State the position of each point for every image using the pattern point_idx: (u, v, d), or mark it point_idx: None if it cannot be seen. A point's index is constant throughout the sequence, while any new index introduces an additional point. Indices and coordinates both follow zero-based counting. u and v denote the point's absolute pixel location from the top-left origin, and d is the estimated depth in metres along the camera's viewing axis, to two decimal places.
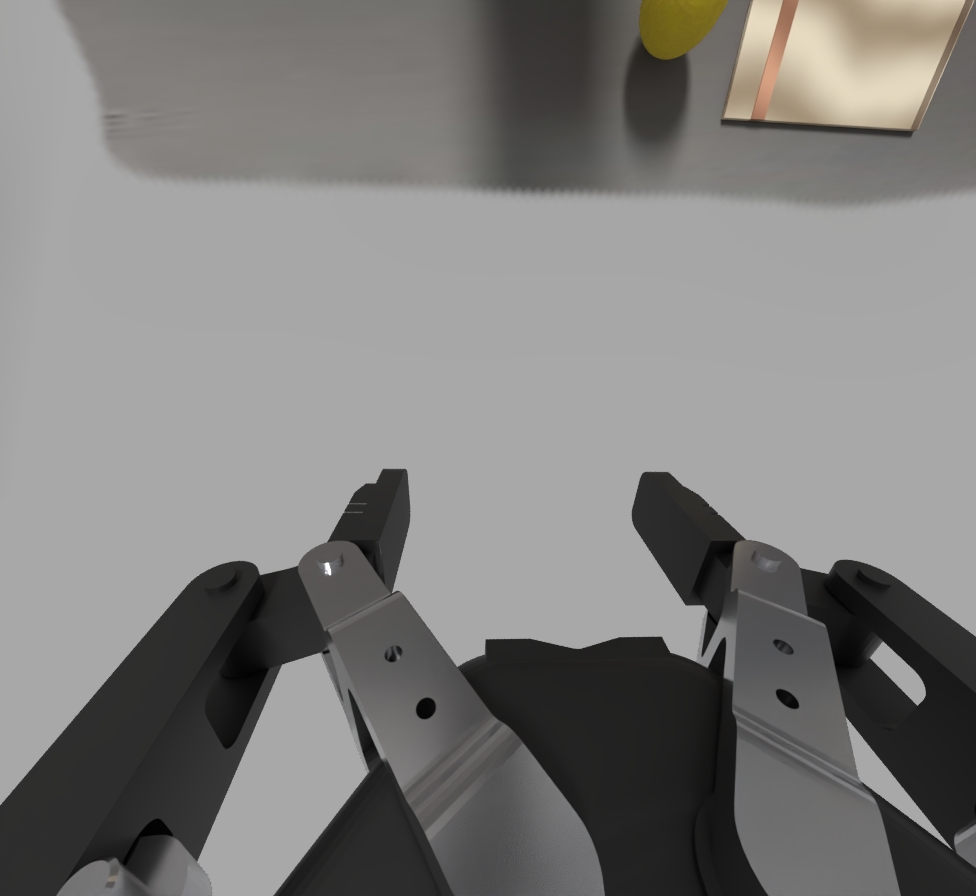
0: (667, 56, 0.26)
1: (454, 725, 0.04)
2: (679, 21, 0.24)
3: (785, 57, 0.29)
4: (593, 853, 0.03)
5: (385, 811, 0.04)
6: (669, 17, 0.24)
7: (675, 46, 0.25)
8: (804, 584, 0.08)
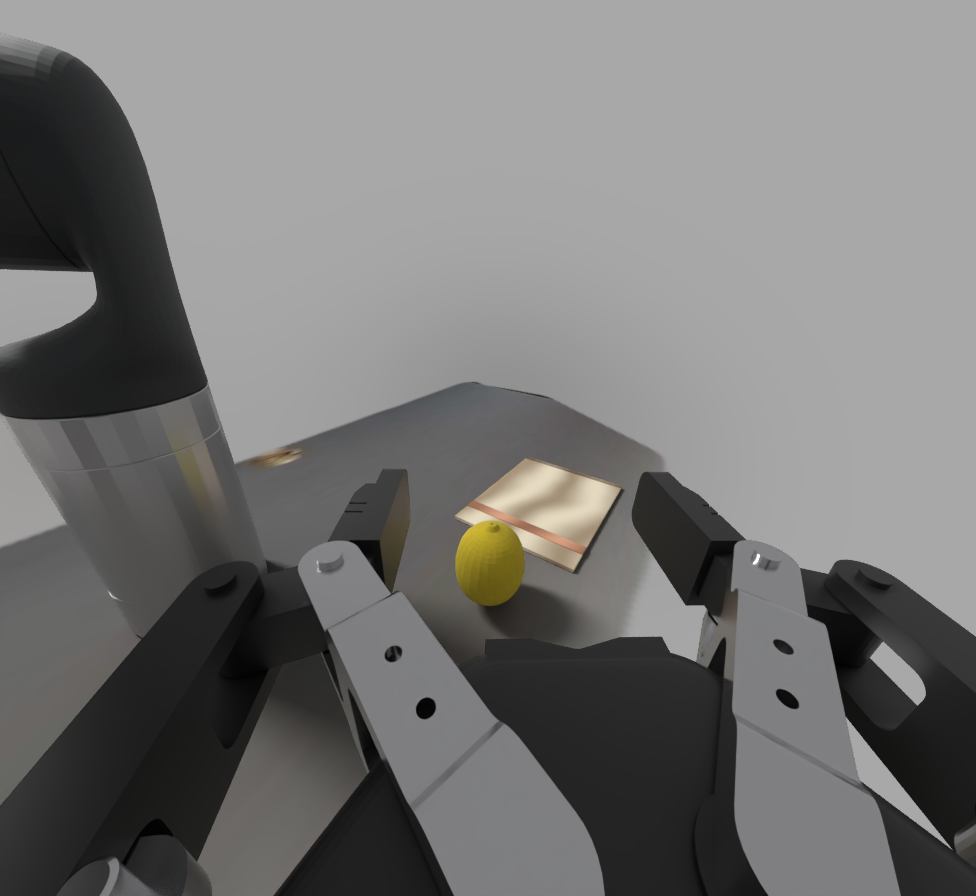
0: (518, 586, 0.27)
1: (455, 726, 0.04)
2: (509, 562, 0.26)
3: (551, 531, 0.38)
4: (594, 854, 0.03)
5: (385, 811, 0.04)
6: (502, 568, 0.25)
7: (519, 575, 0.26)
8: (804, 584, 0.08)
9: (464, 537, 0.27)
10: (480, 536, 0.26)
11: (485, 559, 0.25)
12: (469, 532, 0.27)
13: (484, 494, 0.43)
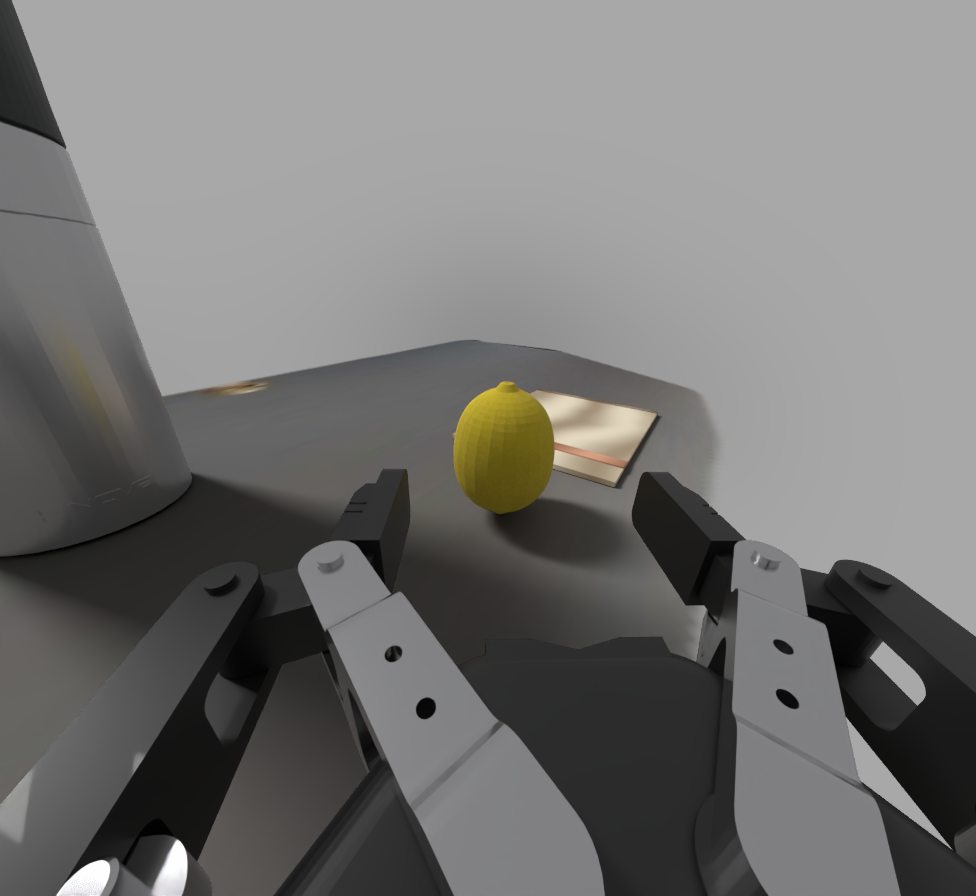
0: (546, 479, 0.18)
1: (455, 725, 0.04)
2: (535, 433, 0.17)
3: (578, 447, 0.29)
4: (592, 853, 0.03)
5: (385, 811, 0.04)
6: (524, 440, 0.17)
7: (548, 458, 0.18)
8: (804, 584, 0.08)
9: (466, 408, 0.18)
10: (490, 397, 0.17)
11: (498, 425, 0.16)
12: (473, 400, 0.18)
13: None
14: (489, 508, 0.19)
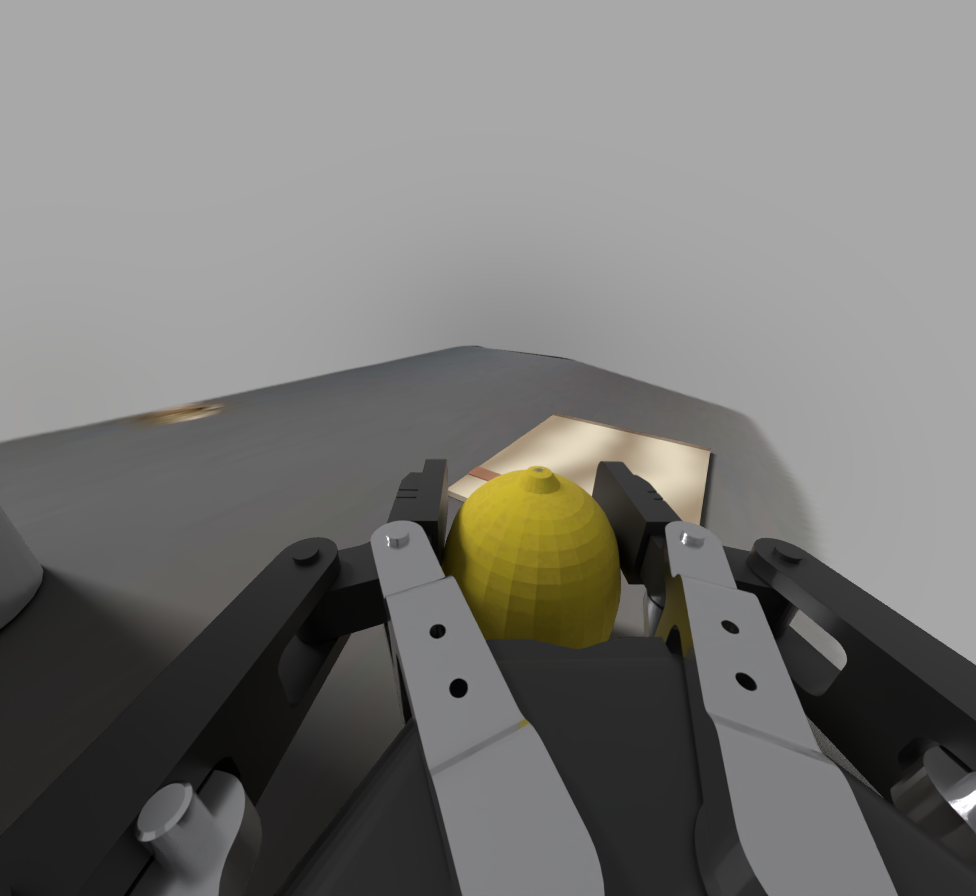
0: None
1: (482, 712, 0.04)
2: (596, 578, 0.09)
3: None
4: (599, 878, 0.03)
5: (410, 771, 0.04)
6: (577, 598, 0.08)
7: (614, 612, 0.09)
8: (728, 561, 0.08)
9: (462, 510, 0.10)
10: (507, 503, 0.09)
11: (526, 569, 0.08)
12: (476, 497, 0.10)
13: (495, 458, 0.26)
14: None
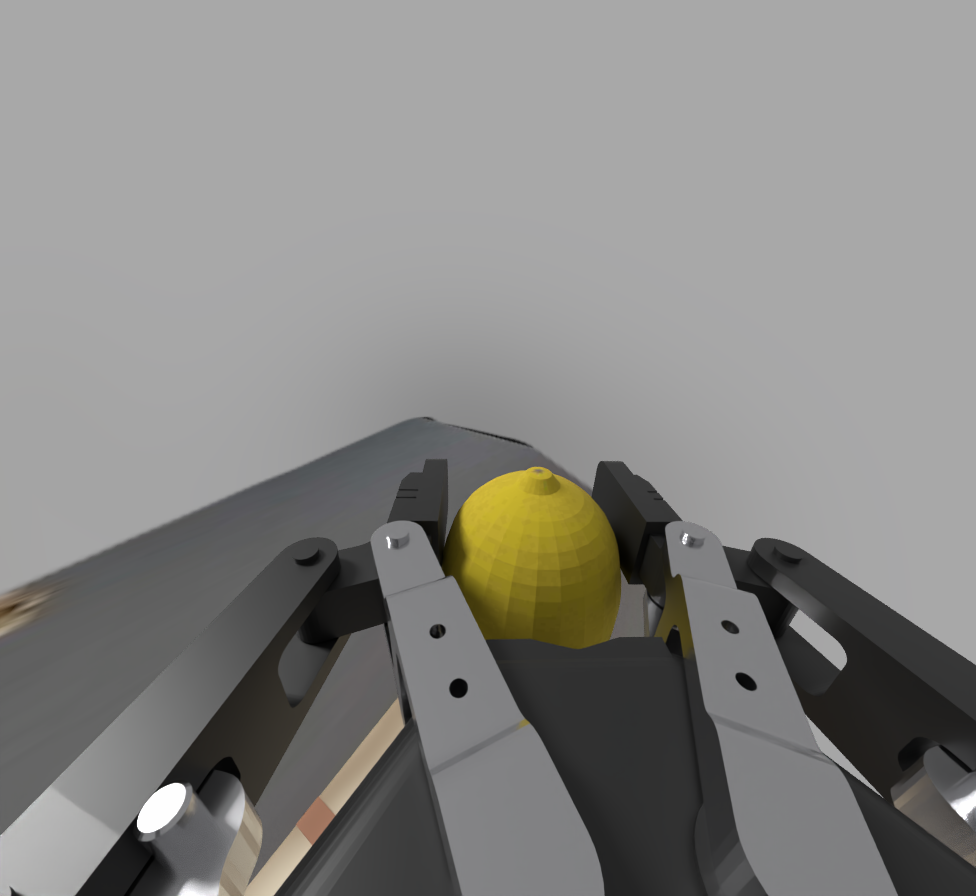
0: None
1: (483, 711, 0.04)
2: (596, 580, 0.09)
3: None
4: (599, 878, 0.03)
5: (410, 771, 0.04)
6: (577, 599, 0.08)
7: (615, 614, 0.09)
8: (728, 561, 0.08)
9: (462, 512, 0.10)
10: (507, 504, 0.09)
11: (525, 571, 0.08)
12: (475, 498, 0.10)
13: (354, 760, 0.19)
14: None
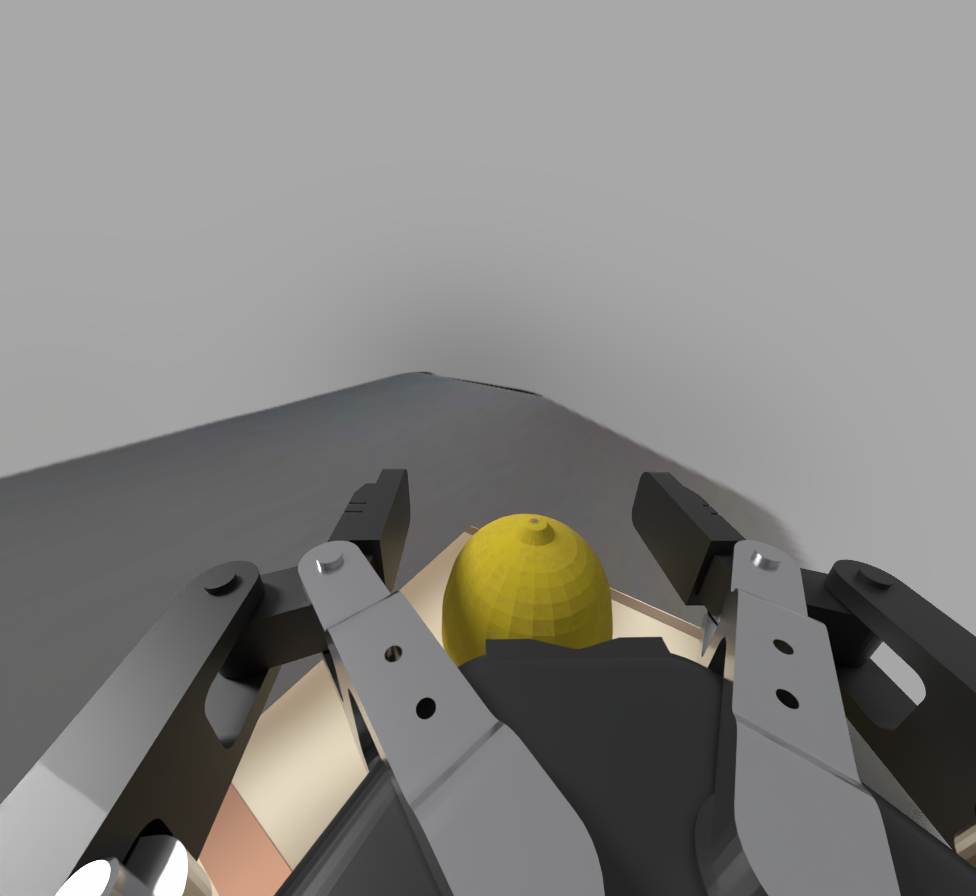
0: None
1: (455, 726, 0.04)
2: (588, 628, 0.09)
3: None
4: (594, 854, 0.03)
5: (385, 811, 0.04)
6: (570, 647, 0.09)
7: None
8: (804, 584, 0.08)
9: (462, 556, 0.11)
10: (505, 554, 0.10)
11: (521, 621, 0.09)
12: (475, 543, 0.11)
13: (279, 708, 0.13)
14: None
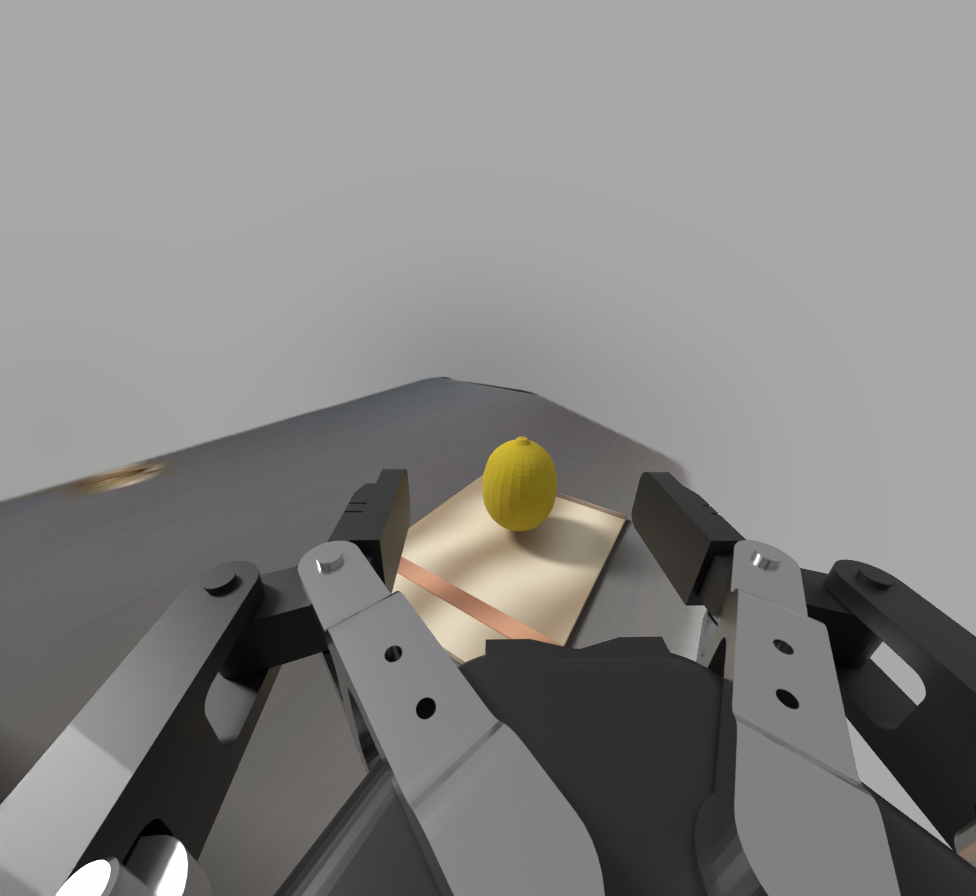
0: (551, 507, 0.25)
1: (454, 725, 0.04)
2: (543, 475, 0.23)
3: (502, 608, 0.21)
4: (592, 854, 0.03)
5: (385, 812, 0.04)
6: (535, 481, 0.23)
7: (552, 493, 0.24)
8: (804, 584, 0.08)
9: (492, 455, 0.25)
10: (510, 449, 0.24)
11: (516, 471, 0.23)
12: (497, 449, 0.25)
13: None
14: (509, 528, 0.25)
